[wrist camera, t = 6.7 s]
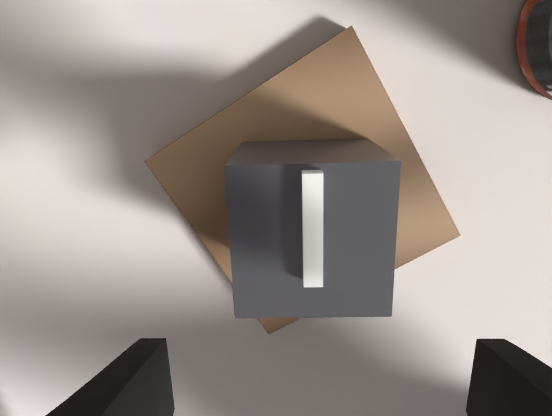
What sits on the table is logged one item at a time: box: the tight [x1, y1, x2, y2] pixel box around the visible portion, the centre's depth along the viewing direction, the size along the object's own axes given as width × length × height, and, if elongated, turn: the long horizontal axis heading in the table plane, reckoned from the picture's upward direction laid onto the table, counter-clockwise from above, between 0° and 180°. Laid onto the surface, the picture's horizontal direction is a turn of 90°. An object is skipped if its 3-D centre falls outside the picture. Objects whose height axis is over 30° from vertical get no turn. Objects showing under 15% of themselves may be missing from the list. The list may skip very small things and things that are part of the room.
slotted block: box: [224, 138, 401, 318], centre depth 14 cm, size 5×5×6 cm
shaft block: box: [144, 26, 460, 334], centre depth 16 cm, size 10×10×4 cm
